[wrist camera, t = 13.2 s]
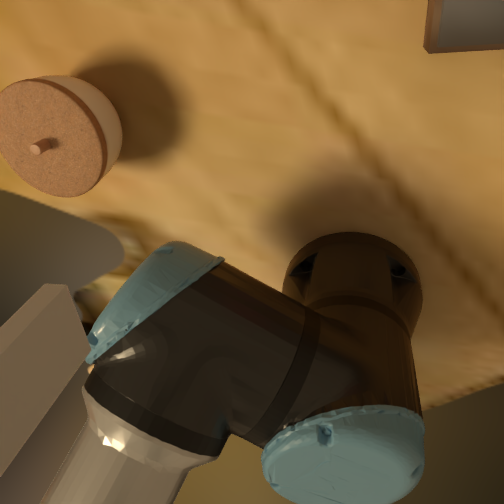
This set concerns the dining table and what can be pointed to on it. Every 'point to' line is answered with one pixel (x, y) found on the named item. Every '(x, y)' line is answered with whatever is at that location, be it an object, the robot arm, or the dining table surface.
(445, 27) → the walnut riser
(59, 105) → the lidded jar
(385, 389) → the robot arm
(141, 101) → the dining table surface
